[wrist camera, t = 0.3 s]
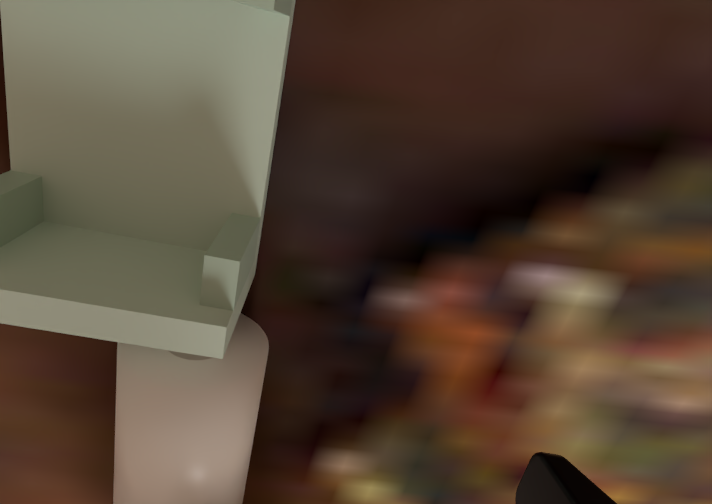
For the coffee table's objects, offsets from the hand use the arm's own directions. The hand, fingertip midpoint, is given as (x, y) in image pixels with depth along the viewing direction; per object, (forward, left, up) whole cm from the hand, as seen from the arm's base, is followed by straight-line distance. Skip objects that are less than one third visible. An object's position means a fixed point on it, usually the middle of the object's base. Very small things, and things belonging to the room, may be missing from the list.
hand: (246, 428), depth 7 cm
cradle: (+2, +6, -13) cm, 15 cm away
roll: (-11, +3, -11) cm, 15 cm away
